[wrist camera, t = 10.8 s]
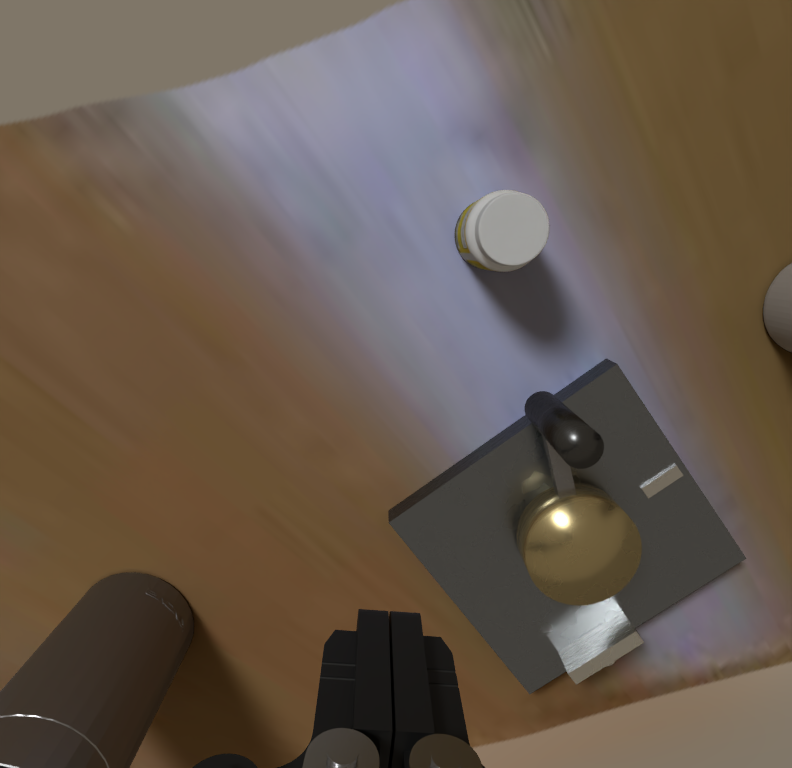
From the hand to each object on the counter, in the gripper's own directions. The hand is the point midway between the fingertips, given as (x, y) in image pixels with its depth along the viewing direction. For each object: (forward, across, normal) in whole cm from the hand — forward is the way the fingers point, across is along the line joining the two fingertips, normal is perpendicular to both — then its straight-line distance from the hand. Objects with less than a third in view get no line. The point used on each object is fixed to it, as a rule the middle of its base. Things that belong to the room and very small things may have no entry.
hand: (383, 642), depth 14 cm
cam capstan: (+26, -14, +6) cm, 30 cm away
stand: (+29, -16, +11) cm, 34 cm away
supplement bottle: (+29, -7, -11) cm, 32 cm away
